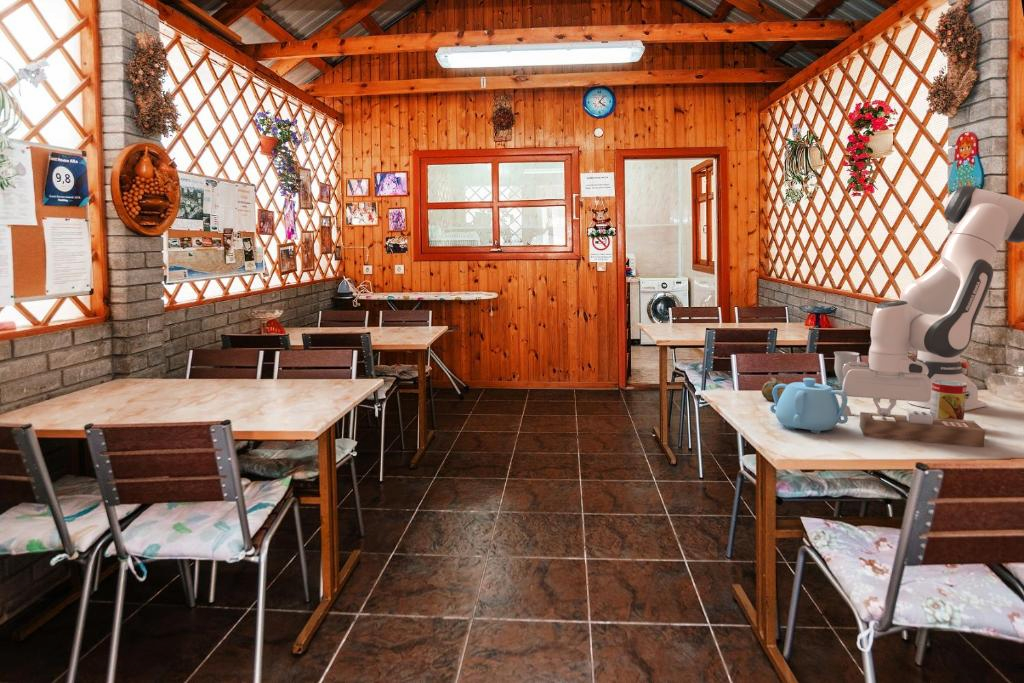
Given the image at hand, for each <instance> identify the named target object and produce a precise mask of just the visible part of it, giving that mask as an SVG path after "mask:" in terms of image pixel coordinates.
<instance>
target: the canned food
mask: <svg viewBox="0 0 1024 683" xmlns="http://www.w3.org/2000/svg"><path fill="white" fill-rule="evenodd" d="M966 388H967V384H966V383H963V382H959V381H951V380H934V381H932V391H931V403H930V408H929V413H930V414H931V415H932V416H933V418H944V419H957V420H965V411H964V410H965V399H966Z"/></svg>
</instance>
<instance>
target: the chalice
mask: <svg viewBox="0 0 1024 683" xmlns="http://www.w3.org/2000/svg"><path fill="white" fill-rule="evenodd" d="M833 354H834V366H833V369H834V372H835V376H836V378H837V381H838V383H839V384H840V385H842V386H843V380H844V376H843V375H842V368H843V366H844V365H845V364H846V363H849V362H851V361H853V362H858V357H859V356H860V353H859V352H855V351H846V350H845V351H843V350H842V351H839V350H838V351H833ZM848 365H849V364H848ZM840 391H841V392H842V389H841V390H840ZM840 399H841V402H840V403H839V407H841V405H842V402H843V399H842V397H841V396H840ZM842 414H846V415H847V416H852V415H853V413H852V411H851V409H850V406H848V404H847V405H846V407H845V409H844V411H843V413H842Z"/></svg>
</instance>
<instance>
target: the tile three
mask: <svg viewBox="0 0 1024 683" xmlns="http://www.w3.org/2000/svg"><path fill="white" fill-rule="evenodd" d="M942 423H943V424H944V425H945V426H957V427H968V426H967V425H966V424H965V423H958V422H945V421H942Z"/></svg>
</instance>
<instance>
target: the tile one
mask: <svg viewBox="0 0 1024 683" xmlns="http://www.w3.org/2000/svg"><path fill="white" fill-rule="evenodd" d="M872 419H873V420H883V421H896V420H895V419H894V417H882V416H872ZM896 422H897V421H896Z"/></svg>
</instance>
